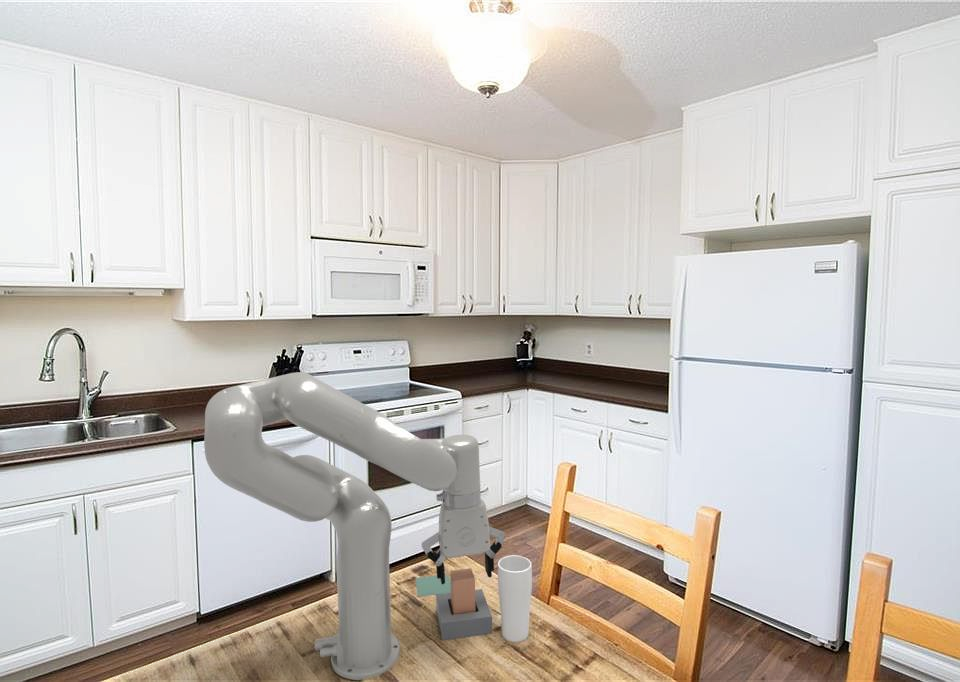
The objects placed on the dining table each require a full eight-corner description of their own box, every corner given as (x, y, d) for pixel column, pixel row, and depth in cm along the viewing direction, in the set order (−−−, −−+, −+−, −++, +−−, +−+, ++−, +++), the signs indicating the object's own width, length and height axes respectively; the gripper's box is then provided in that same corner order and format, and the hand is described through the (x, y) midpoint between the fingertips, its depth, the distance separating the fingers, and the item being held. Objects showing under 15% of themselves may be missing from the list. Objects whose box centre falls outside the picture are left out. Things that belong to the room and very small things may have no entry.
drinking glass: (530, 649, 100) (530, 573, 98) (495, 644, 101) (494, 570, 100) (533, 627, 106) (533, 556, 105) (501, 623, 108) (500, 553, 106)
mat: (417, 598, 117) (417, 596, 117) (415, 579, 125) (415, 577, 125) (453, 594, 118) (453, 592, 118) (448, 576, 126) (448, 574, 126)
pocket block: (442, 642, 102) (441, 623, 102) (436, 612, 112) (436, 594, 111) (492, 635, 104) (491, 616, 103) (482, 606, 114) (481, 589, 113)
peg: (454, 629, 105) (453, 581, 104) (451, 616, 109) (450, 570, 109) (475, 626, 106) (475, 579, 105) (471, 613, 110) (471, 568, 109)
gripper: (421, 509, 100) (425, 593, 102) (508, 499, 104) (511, 581, 105) (417, 494, 108) (422, 573, 109) (499, 485, 111) (502, 562, 113)
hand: (465, 577), depth 107 cm, fingers open, 9 cm apart
